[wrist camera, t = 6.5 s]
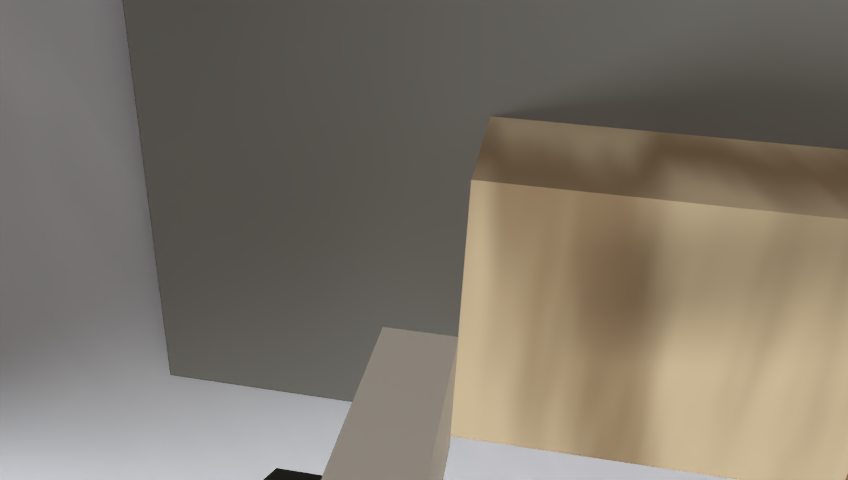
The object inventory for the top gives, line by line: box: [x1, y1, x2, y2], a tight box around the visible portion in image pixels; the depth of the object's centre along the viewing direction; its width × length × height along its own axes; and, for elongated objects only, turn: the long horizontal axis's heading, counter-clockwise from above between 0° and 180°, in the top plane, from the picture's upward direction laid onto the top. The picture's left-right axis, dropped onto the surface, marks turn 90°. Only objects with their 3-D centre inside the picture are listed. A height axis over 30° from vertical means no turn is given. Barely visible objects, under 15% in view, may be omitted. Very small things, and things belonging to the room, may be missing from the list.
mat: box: [123, 0, 848, 402], centre depth 21 cm, size 24×16×1 cm, turn 87°
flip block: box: [450, 116, 848, 480], centre depth 18 cm, size 5×7×10 cm
